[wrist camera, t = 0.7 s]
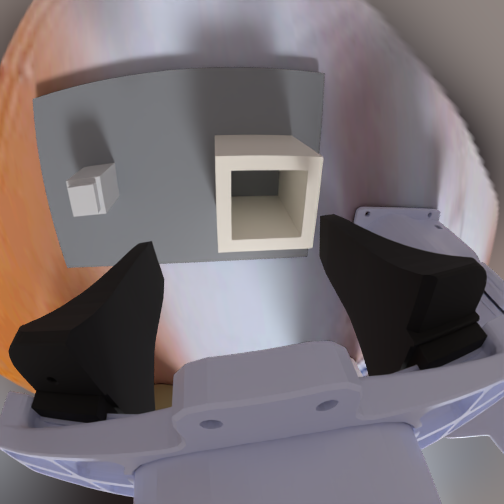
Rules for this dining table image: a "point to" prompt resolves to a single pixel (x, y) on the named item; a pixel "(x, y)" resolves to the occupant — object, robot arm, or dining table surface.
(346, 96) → the dining table surface
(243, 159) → the sleeve
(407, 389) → the robot arm
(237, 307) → the dining table surface
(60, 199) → the base plate
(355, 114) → the dining table surface
